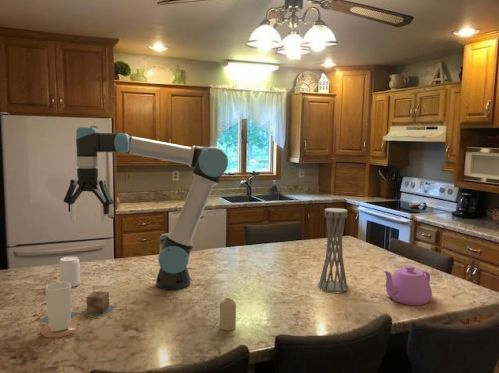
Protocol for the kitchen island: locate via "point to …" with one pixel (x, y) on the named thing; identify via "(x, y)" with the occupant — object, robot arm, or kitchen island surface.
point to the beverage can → (70, 270)
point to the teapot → (409, 286)
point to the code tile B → (98, 313)
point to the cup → (58, 305)
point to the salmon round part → (50, 334)
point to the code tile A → (48, 321)
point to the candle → (227, 314)
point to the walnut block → (97, 302)
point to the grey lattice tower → (334, 252)
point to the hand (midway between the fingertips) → (88, 221)
